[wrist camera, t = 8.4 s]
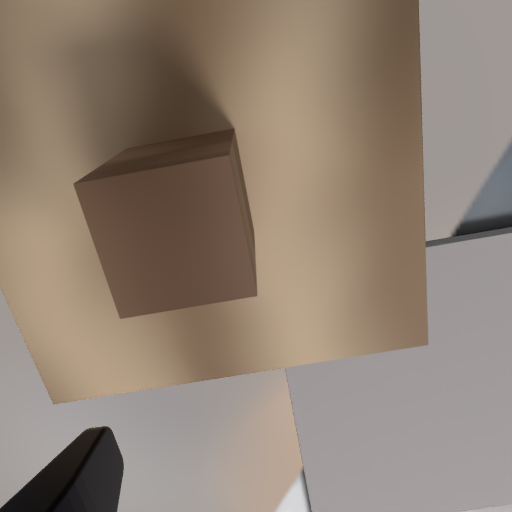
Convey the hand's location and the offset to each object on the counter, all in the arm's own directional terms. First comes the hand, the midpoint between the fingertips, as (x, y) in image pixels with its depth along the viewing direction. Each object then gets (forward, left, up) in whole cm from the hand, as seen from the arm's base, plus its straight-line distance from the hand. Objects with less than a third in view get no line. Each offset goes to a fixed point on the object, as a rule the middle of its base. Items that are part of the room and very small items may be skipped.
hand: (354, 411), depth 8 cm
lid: (+3, -3, -7) cm, 8 cm away
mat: (-7, +11, -12) cm, 18 cm away
